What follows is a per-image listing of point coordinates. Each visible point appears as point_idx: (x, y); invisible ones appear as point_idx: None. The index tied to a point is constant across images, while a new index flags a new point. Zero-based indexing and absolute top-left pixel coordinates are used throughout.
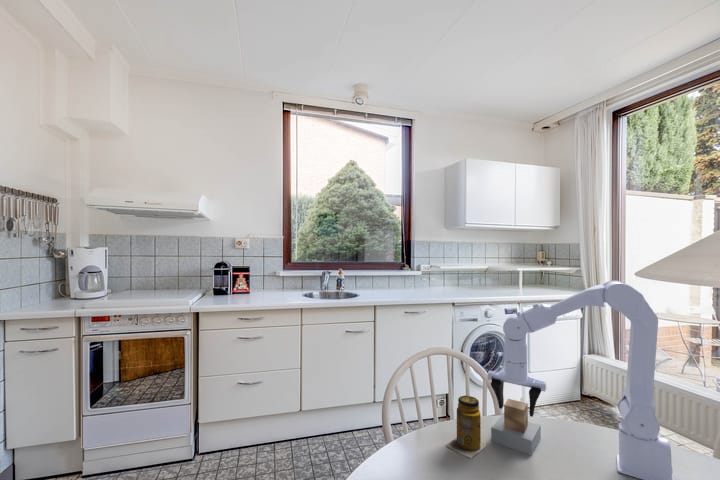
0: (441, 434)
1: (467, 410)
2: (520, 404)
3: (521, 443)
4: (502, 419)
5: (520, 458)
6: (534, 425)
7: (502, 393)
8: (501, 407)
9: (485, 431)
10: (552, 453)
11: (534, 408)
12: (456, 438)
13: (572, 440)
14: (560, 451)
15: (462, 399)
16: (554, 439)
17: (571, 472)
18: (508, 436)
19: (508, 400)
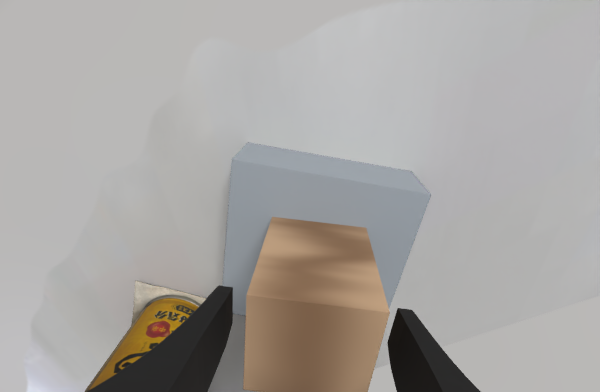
0: (85, 305)
1: None
2: (339, 346)
3: None
4: (244, 222)
5: None
6: (398, 211)
7: (196, 363)
8: (229, 331)
9: (197, 222)
10: (441, 260)
11: (430, 335)
12: (134, 309)
13: (560, 116)
14: (474, 235)
15: None
16: (472, 150)
17: (478, 331)
18: None
19: (254, 322)
